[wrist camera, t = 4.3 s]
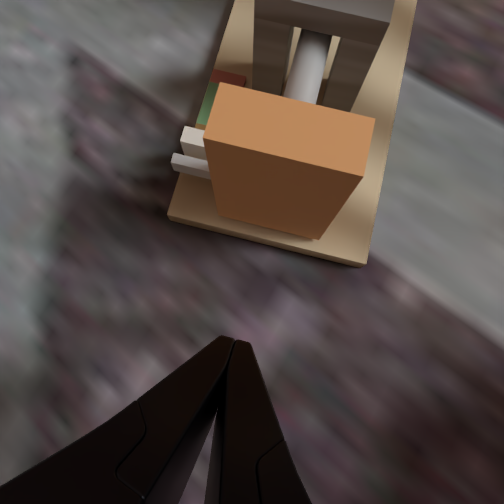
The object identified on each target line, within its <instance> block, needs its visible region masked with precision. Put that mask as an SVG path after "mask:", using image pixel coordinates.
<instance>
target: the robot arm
mask: <svg viewBox="0 0 504 504" xmlns="http://www.w3.org/2000/svg"><path fill="white" fill-rule="evenodd" d="M217 409H218V410H217ZM216 412H217V414H216ZM215 415H216V419H215V425H214V433H213V441H212V448H211V456H210V463H209V471H208V479H207V486H206V494H205V501H204V504H312V503H311V501H310V499H309V497H308V494H307V492H306V490H305V488H304V486H303V484H302V482H301V479H300V477H299V475H298V473H297V470H296V468H295V465H294V463H293V460H292V457H291V455H290V452H289V449H288V446H287V444H286V441H285V440H284V436H283V433H282V431H281V428H280V425H279V422H278V419H277V416H276V414H275V411H274V408H273V405H272V402H271V399H270V397H269V394H268V391H267V388H266V385H265V382H264V380H263V377H262V374H261V371H260V368H259V365H258V363H257V360H256V357H255V354H254V351H253V348H252V346H251V344H250V343H249V342H246V341H242V340H236V341H235V340H234V339H233V338H230V337H226V336H223V335H221V336H219V337H218V338H216V339H215V340H214V341H212V342H211V343H210V344H208V345H207V346H206V347H205V348H203V349H202V350H201V351H199V352H198V353H197V354H195V355H194V356H193V357H192V358H190V359H189V360H188V361H186V362H185V363H184V364H182V365H181V366H180V367H179V368H177V369H176V370H175V371H173V372H172V373H171V374H169V375H168V376H167V377H166V378H164V379H163V380H162V381H160V382H159V383H158V384H156V385H155V386H154V387H153V388H151V389H150V390H149V391H147V392H146V393H145V394H143V395H142V396H141V397H140V398H138V399H137V401H134V402H132V403H131V404H130V405H129V406H127V407H126V408H125V409H123V410H122V411H121V412H119V413H118V414H116V415H115V416H114V417H112V418H111V419H109V420H108V421H107V422H105V423H104V424H102V425H100V426H99V427H97V428H96V429H94V430H93V431H91V432H89V433H88V434H86V435H85V436H83V437H81V438H80V439H78V440H76V441H75V442H73V443H71V444H70V445H68V446H66V447H65V448H63V449H61V450H60V451H58V452H56V453H55V454H53V455H51V456H50V457H48V458H46V459H45V460H43V461H41V462H40V463H38V464H36V465H35V466H33V467H32V468H30V469H28V470H27V471H25V472H23V473H22V474H20V475H18V476H17V477H15V478H13V479H12V480H10V481H8V482H7V483H5V484H3V485H2V486H0V504H178V503H179V501H180V498H181V496H182V494H183V491H184V489H185V487H186V484H187V482H188V480H189V477H190V475H191V473H192V470H193V468H194V466H195V463H196V461H197V458H198V456H199V454H200V451H201V449H202V447H203V444H204V442H205V440H206V437H207V435H208V433H209V430H210V428H211V426H212V423H213V421H214V418H215Z"/></svg>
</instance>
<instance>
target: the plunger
mask: <svg viewBox="0 0 504 504" xmlns="http://www.w3.org/2000/svg"><path fill="white" fill-rule="evenodd" d="M332 36H333V35H329V34H324V33H320V32H315V31H311V30H307V29H302V28H301V32H300V36H299V39H298V43H297V47H296V51H295V54H294V58H293V62H292V66H291V69H290V73H289V77H288V81H287V84H286V88H285V92H284V95H283V97H282V96H278V95H273V94H269V93H265V92H261V91H256V90H252V89H248V88H244V87H239V86H235V85H231V84H227V83H222V82H220V83H219V87H218V90H217V93H216V96H215V100H214V103H213V106H212V109H211V112H210V116H209V119H208V122H207V125H206V128H205V132H204V135H203V142H204V147H205V152H206V157H207V161H206V160H202V159H198V158H193V157H189V156H185V155H181V154H177V153H173V156H172V159H171V165H172V167H173V170H174V171H178V172H182V173H186V174H190V175H194V176H198V177H202V178H206V179H210V180H211V182H212V187H213V192H214V197H215V202H216V207H217V212H218V215H219V216H223V217H227V218H231V219H235V220H239V221H243V222H247V223H251V224H255V225H259V226H263V227H267V228H271V229H275V230H279V231H283V232H287V233H291V234H295V235H299V236H303V237H307V238H311V239H315V240H319V239H320V238H321V237H322V235H323V234H324V232H325V231H326V230H327V228H328V227H329V225H330V224H331V222H332V221H333V220H334V218H335V217H336V215H337V214H338V212H339V211H340V210H341V208H342V207H343V205H344V204H345V203H346V201H347V200H348V198H349V197H350V195H351V194H352V193H353V191H354V190H355V188H356V187H357V186H358V184H359V183H360V181H361V180H362V178H363V177H364V173H365V168H366V163H367V158H368V153H369V148H370V144H371V139H372V134H373V129H374V124H375V118H371V117H367V116H363V115H358V114H354V113H350V112H346V111H341V110H337V109H333V108H329V107H324V106H320V105H316V101H317V97H318V93H319V89H320V85H321V81H322V77H323V73H324V69H325V65H326V60H327V56H328V52H329V48H330V44H331V40H332Z"/></svg>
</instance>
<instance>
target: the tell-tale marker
mask: <svg viewBox="0 0 504 504" xmlns="http://www.w3.org/2000/svg"><path fill="white" fill-rule="evenodd" d="M204 132H205V131H204V130H200V129H196V128H192V127H188V126H185V127H184V130H183V133H182V136H181V139H180V143H181V146H182V149H183V152H184V155H186V156H190V157H195V158H199V159H203V160H207V157H206V152H205V147H204V142H203V135H204Z"/></svg>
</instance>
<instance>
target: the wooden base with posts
mask: <svg viewBox="0 0 504 504" xmlns="http://www.w3.org/2000/svg"><path fill="white" fill-rule="evenodd" d="M416 3H417V0H235V2H234V5H233V8H232V11H231V14H230V17H229V21H228V24H227V27H226V30H225V33H224V36H223V39H222V43H221V46H220V49H219V52H218V55H217V58H216V61H215V65H214V68H213V71H212V74H211V77H210V80H209V83H208V87H207V90H206V93H205V96H204V99H203V102H202V105H201V109H200V112H199V115H198V118H197V121H196V124H195V127H194V128H196V129H200V130H204V131H205V128H206V125H207V122H208V119H209V116H210V112H211V109H212V106H213V103H214V100H215V96H216V93H217V90H218V87H219V83H220V82H222V83H227V84H231V85H235V86H239V87H244V88H248V89H252V90H256V91H261V92H265V93H269V94H273V95H278V96H282V97H283V95H284V92H285V88H286V84H287V81H288V77H289V73H290V69H291V66H292V62H293V58H294V54H295V51H296V47H297V43H298V39H299V36H300V32H301V28H302V29H307V30H311V31H315V32H320V33H324V34H329V35H333V36H332V40H331V44H330V48H329V52H328V56H327V60H326V65H325V69H324V73H323V77H322V81H321V85H320V89H319V93H318V97H317V101H316V105H320V106H324V107H329V108H333V109H337V110H341V111H346V112H350V113H354V114H358V115H363V116H367V117H371V118H375V124H374V129H373V134H372V139H371V144H370V148H369V153H368V158H367V163H366V168H365V173H364V177H363V178H362V180H361V181H360V183H359V184H358V186H357V187H356V188H355V190H354V191H353V193H352V194H351V195H350V197H349V198H348V200H347V201H346V203H345V204H344V205H343V207H342V208H341V210H340V211H339V212H338V214H337V215H336V217H335V218H334V220H333V221H332V222H331V224H330V225H329V227H328V228H327V230H326V231H325V232H324V234H323V235H322V237H321V238H320V239H319V240H315V239H311V238H307V237H303V236H299V235H295V234H291V233H287V232H283V231H279V230H275V229H271V228H267V227H263V226H259V225H255V224H251V223H247V222H243V221H239V220H235V219H231V218H227V217H223V216H219V215H218V212H217V207H216V202H215V197H214V192H213V187H212V182H211V180H210V179H206V178H202V177H198V176H194V175H190V174H186V173H182V172H180V175H179V178H178V181H177V184H176V187H175V190H174V193H173V197H172V200H171V203H170V206H169V209H168V212H167V216H168V217H169V219H170V221H174V222H178V223H182V224H186V225H190V226H194V227H198V228H202V229H206V230H210V231H214V232H218V233H222V234H226V235H230V236H234V237H238V238H242V239H246V240H250V241H254V242H258V243H262V244H266V245H270V246H274V247H278V248H282V249H286V250H290V251H294V252H298V253H302V254H306V255H310V256H314V257H318V258H322V259H326V260H330V261H334V262H338V263H342V264H346V265H350V266H354V267H358V268H361V267H363V266H364V265H366V263H367V257H368V252H369V247H370V242H371V237H372V231H373V226H374V221H375V216H376V211H377V205H378V200H379V195H380V190H381V185H382V180H383V174H384V169H385V164H386V159H387V154H388V148H389V143H390V138H391V133H392V128H393V123H394V117H395V112H396V107H397V102H398V97H399V91H400V86H401V81H402V76H403V71H404V65H405V60H406V55H407V50H408V45H409V40H410V34H411V29H412V24H413V19H414V14H415V8H416ZM189 157H190V156H189ZM193 158H195V157H193ZM198 159H199V158H198ZM202 160H203V159H202ZM206 161H207V160H206Z"/></svg>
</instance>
